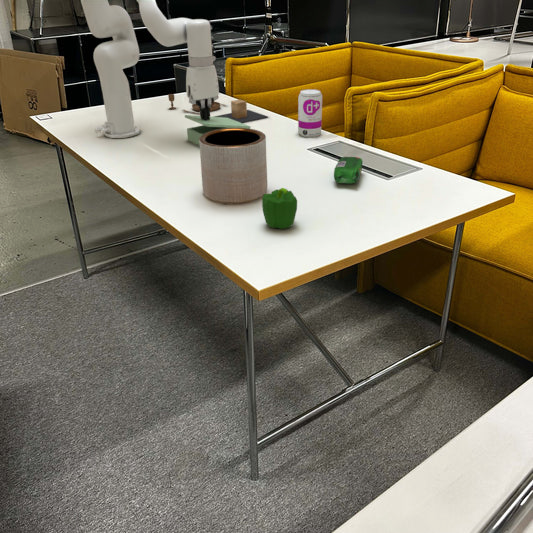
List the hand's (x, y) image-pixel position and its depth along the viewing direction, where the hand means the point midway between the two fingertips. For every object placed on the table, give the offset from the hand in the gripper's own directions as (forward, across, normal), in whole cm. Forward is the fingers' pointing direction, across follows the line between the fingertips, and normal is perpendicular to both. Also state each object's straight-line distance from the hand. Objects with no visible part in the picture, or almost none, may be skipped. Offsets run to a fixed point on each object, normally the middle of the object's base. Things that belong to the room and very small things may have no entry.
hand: (205, 119), depth 186 cm
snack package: (+9, -15, +54) cm, 57 cm away
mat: (+9, -28, -22) cm, 37 cm away
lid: (+2, -5, 0) cm, 5 cm away
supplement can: (+9, -35, +13) cm, 38 cm away
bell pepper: (+9, +19, +66) cm, 69 cm away
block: (+8, -28, -22) cm, 37 cm away
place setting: (+9, -24, -47) cm, 54 cm away
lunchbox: (+9, -5, 0) cm, 10 cm away
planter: (+9, +16, +42) cm, 46 cm away
